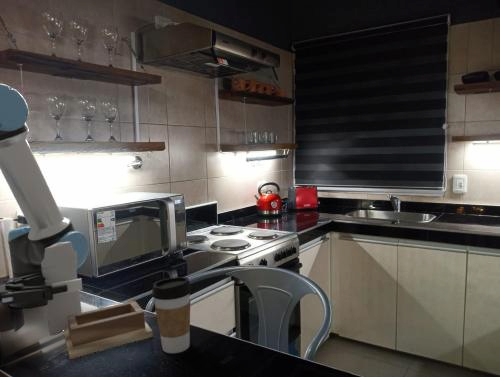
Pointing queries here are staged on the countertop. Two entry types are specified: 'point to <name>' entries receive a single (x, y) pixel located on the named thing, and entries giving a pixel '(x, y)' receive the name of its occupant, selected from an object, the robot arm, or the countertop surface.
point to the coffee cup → (173, 313)
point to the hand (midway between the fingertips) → (79, 278)
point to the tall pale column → (59, 270)
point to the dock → (105, 328)
